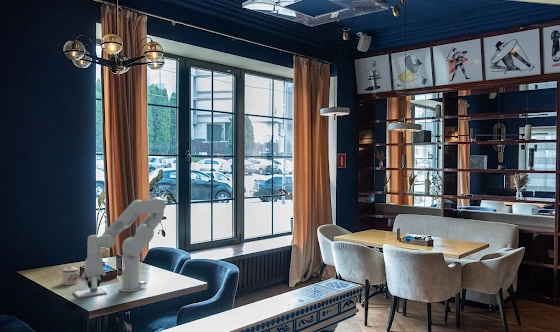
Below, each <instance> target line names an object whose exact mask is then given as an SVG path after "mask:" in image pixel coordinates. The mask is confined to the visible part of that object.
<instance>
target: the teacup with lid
mask: <svg viewBox="0 0 560 332" xmlns="http://www.w3.org/2000/svg"><path fill="white" fill-rule="evenodd" d="M61 271H62V280H61V282H62V285H63V286H73V285H76V284H77V283H78V278H79V277H80V276H81V270H79V268H78V267H75V266H73V265H72V264H68V266H66V267H64V268H62V270H61Z"/></svg>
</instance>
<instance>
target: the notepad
mask: <svg viewBox="0 0 560 332" xmlns="http://www.w3.org/2000/svg"><path fill="white" fill-rule="evenodd" d="M72 295H73V296H74V297H75V298H76V299H77V300H78V299H79V300H80V299H85V298H93V297H98V296H107V295H108V292H106V291H105V290H104V289H103V288H101V287H97V291H96V292H90V289H85V290H84V289H83V290H79V291H73V292H72Z"/></svg>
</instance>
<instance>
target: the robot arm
mask: <svg viewBox="0 0 560 332" xmlns="http://www.w3.org/2000/svg"><path fill="white" fill-rule="evenodd" d="M166 207H167V202H166V201H165V200H164V199H163V198H161V197H159V196H153V197H152V198H150V199H146V200H141V199H135V200H132V202H130V204H129V205H128V206H127V207H126V209H124V211H123V212H122V213H121V214H120V216H118V217H117V218H116V220H114V222H112V223H111V224H110V225H109V227H108V228H106V230H105V231H104V232H103V233H102V235H99V234H91V235H88V236H87V254H86V255H87V258H85V261H84V269H83V273H82V274H81V275H80V277H81V278H83V279H85V280H86V281H87V287H88V288H89V289H90V288H91V281H90V279H91V276H94V275H98V282H97V288H100V285H101V279H103V277H104V276H106V275H107V273H106V271H105V269H104V261H103V256H104V253H103V252H102V248H103V249H104V248H105V249H108V248H110V249H111V248H113V247H114V246H115V245H116V238H117V237H118V236H119V235H120V234H121V233H122V231H124V230H126V229H128V228H130V227H131V226H132V225H133V223H134V222H135V221H136V220H137V219H138V217H140V216H144V215H147V216H146V217H145V218H144V220H143V221H142V222H141V223H140V224H139V225H138V226H137V227H136V229H135V234H134V235H133V236H129V237H127V238H125V239H124V240H123V242H122V250H121V251H122V282H121V283H122V286H120V287H119V291H121V292H123V293H134V292H137V291H141V290H142V286H146V285H147V281H146V280H145V281H143V280H140V277H139V275H140V253H142V251H143V250H144V249H146V247H147V245H148V244H149V243H150V242H151V241H152V240H153V238H154V235H155V231H154V230H155V229H156V228H157V227H158V226H159V224H161V222H162V220H163V218H164V214H165V209H166Z"/></svg>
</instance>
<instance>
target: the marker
mask: <svg viewBox="0 0 560 332" xmlns="http://www.w3.org/2000/svg"><path fill="white" fill-rule="evenodd" d="M90 281H91V288H89V290H90V292H96V291H97V288H98V287H97V282H98V275H94V276H91V279H90Z"/></svg>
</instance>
